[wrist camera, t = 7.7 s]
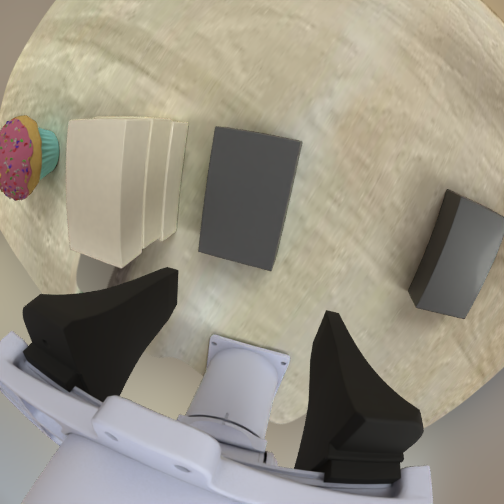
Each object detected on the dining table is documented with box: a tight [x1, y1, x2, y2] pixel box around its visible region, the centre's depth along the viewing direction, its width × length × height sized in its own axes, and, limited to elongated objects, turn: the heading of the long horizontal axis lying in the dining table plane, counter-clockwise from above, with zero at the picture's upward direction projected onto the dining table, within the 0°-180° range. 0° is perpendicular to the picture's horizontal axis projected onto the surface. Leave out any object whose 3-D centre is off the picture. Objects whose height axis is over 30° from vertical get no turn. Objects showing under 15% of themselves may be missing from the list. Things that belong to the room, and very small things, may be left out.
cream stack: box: [94, 116, 189, 249], centre depth 19 cm, size 9×6×5 cm, turn 169°
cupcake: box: [0, 115, 59, 201], centre depth 17 cm, size 9×8×12 cm
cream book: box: [66, 118, 150, 268], centre depth 16 cm, size 9×5×2 cm, turn 169°
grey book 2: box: [408, 189, 504, 319], centre depth 17 cm, size 9×6×2 cm, turn 169°
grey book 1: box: [198, 127, 302, 271], centre depth 19 cm, size 9×6×2 cm, turn 169°
